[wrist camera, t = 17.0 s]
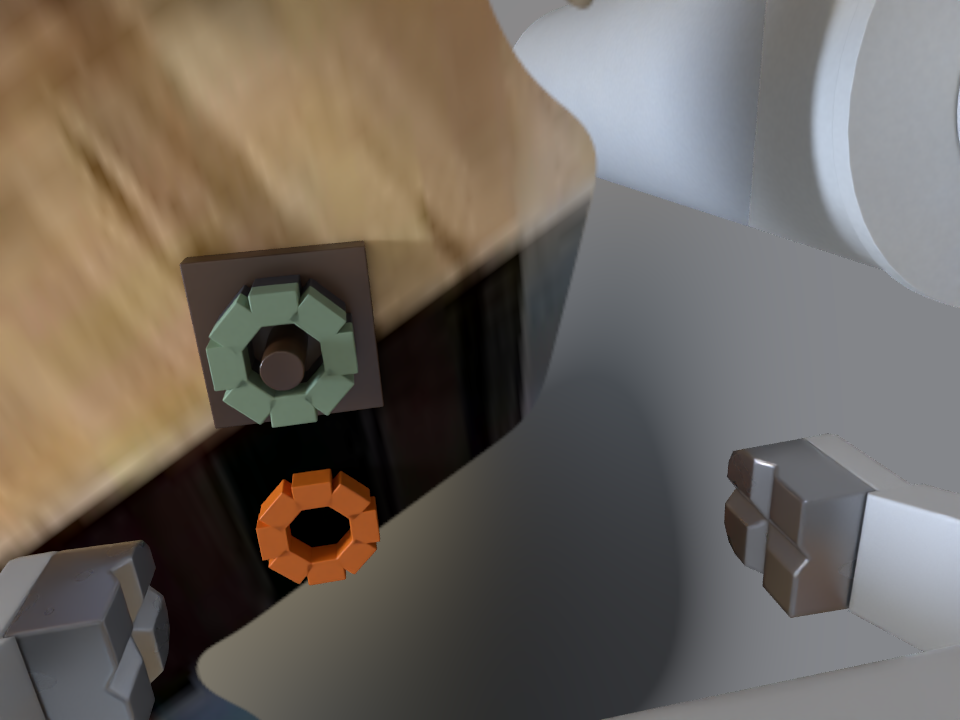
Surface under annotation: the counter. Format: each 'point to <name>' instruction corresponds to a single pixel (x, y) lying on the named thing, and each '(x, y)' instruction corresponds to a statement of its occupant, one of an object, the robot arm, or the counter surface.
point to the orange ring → (322, 560)
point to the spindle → (286, 345)
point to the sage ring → (272, 310)
